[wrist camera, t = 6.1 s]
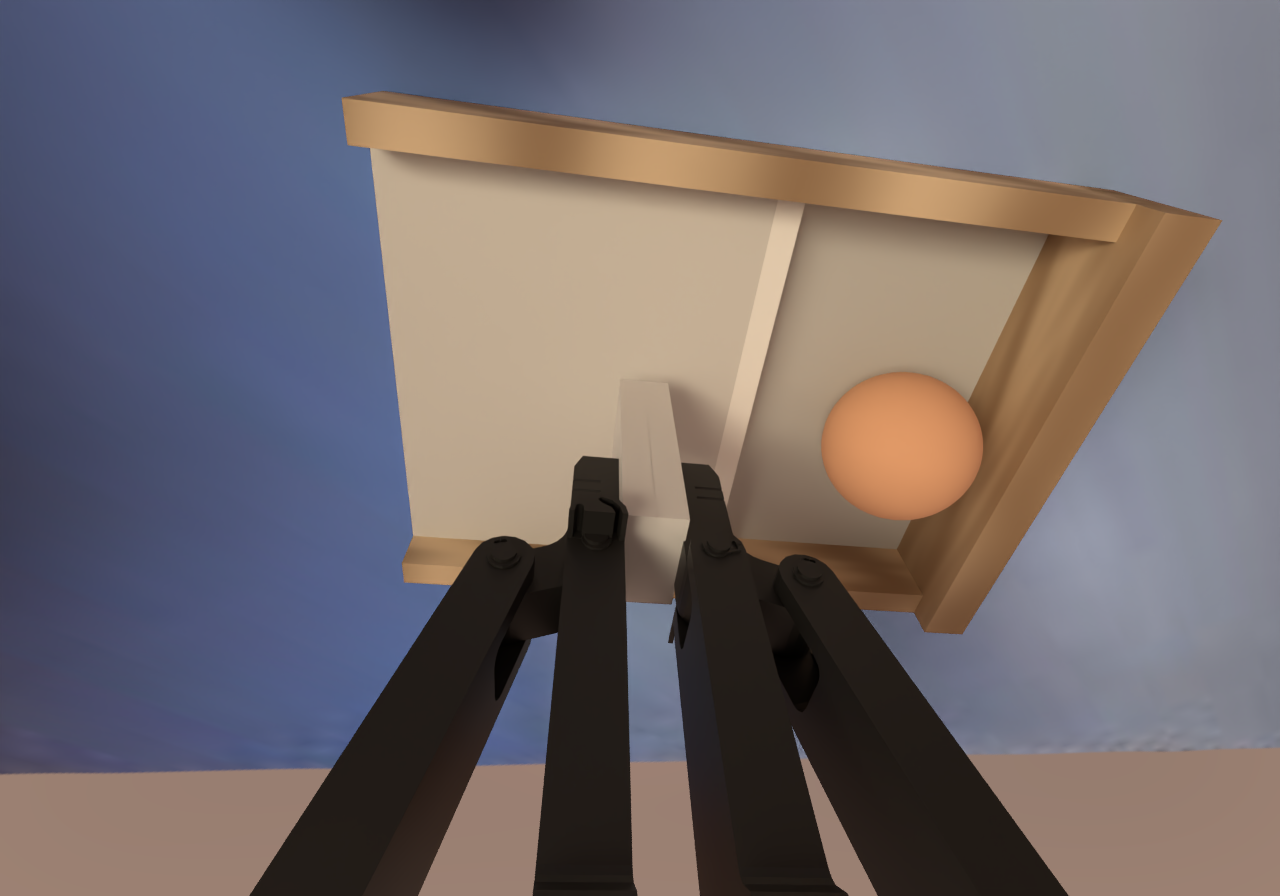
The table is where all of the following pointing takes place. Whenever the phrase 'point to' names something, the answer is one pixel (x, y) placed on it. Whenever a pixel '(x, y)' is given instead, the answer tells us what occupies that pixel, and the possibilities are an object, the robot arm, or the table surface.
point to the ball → (902, 446)
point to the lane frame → (1053, 293)
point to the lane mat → (659, 335)
